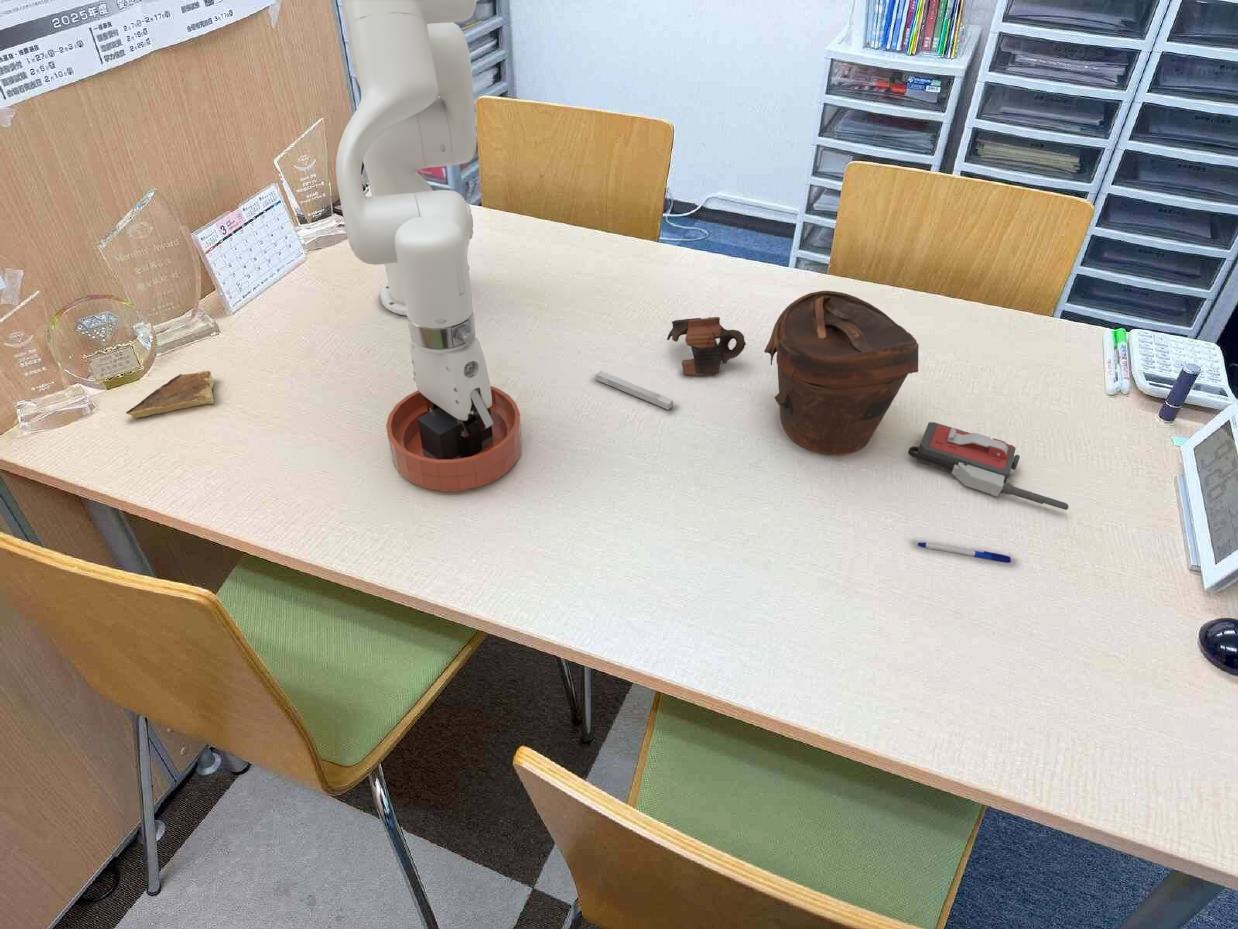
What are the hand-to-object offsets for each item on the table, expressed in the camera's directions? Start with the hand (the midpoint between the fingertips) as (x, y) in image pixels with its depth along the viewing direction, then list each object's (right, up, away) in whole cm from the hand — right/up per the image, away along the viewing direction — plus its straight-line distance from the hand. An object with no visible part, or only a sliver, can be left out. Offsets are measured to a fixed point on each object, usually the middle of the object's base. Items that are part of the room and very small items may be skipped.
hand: (458, 443), depth 108 cm
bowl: (0, -1, +1) cm, 2 cm away
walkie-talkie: (+69, -4, 0) cm, 69 cm away
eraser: (0, -1, +1) cm, 1 cm away
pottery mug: (+34, +13, +19) cm, 41 cm away
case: (+50, +3, +7) cm, 50 cm away
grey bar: (+23, +8, +12) cm, 27 cm away
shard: (-40, +6, +8) cm, 41 cm away
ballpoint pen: (+62, -14, -10) cm, 64 cm away
